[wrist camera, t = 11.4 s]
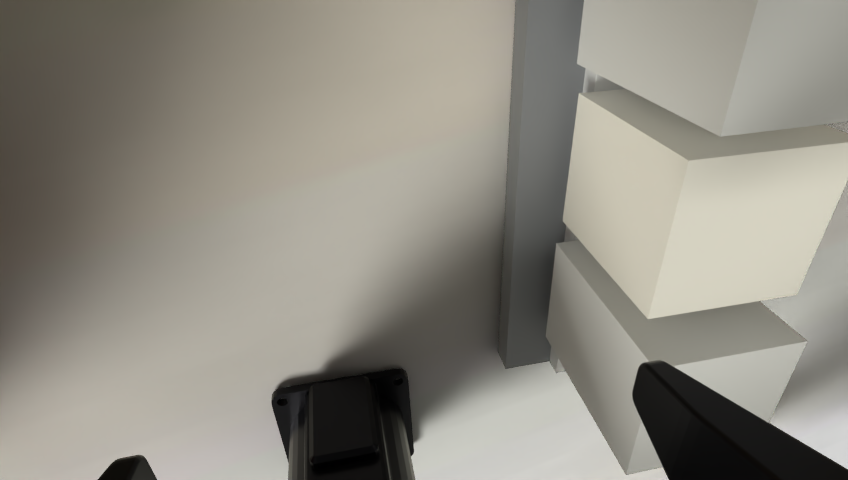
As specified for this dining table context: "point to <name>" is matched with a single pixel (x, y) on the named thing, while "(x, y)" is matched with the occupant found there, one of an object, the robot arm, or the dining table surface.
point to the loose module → (698, 203)
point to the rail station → (692, 100)
